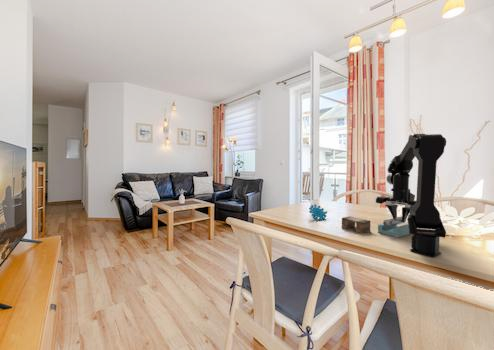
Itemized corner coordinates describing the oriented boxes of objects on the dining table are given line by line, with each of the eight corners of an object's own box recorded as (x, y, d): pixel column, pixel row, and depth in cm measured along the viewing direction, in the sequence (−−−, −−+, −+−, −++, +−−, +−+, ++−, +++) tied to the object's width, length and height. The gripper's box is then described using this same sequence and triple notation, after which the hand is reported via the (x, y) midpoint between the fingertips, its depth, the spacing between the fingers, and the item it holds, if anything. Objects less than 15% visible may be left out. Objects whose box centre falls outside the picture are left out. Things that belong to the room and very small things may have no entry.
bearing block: (370, 230, 100) (370, 220, 100) (362, 233, 97) (362, 222, 97) (349, 225, 109) (349, 216, 109) (341, 227, 106) (341, 217, 106)
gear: (313, 218, 117) (308, 202, 124) (307, 224, 121) (303, 208, 128) (331, 220, 120) (325, 204, 126) (325, 225, 124) (320, 210, 131)
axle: (398, 222, 101) (397, 216, 101) (405, 223, 99) (405, 217, 99) (383, 226, 95) (383, 219, 95) (390, 227, 93) (390, 220, 93)
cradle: (412, 232, 97) (412, 225, 97) (397, 237, 91) (398, 228, 91) (392, 228, 104) (392, 221, 104) (377, 232, 98) (378, 224, 98)
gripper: (434, 187, 94) (433, 224, 95) (388, 184, 111) (387, 215, 111) (422, 188, 89) (420, 227, 90) (375, 185, 105) (374, 218, 106)
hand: (399, 221), depth 99 cm, fingers closed on axle, 3 cm apart
